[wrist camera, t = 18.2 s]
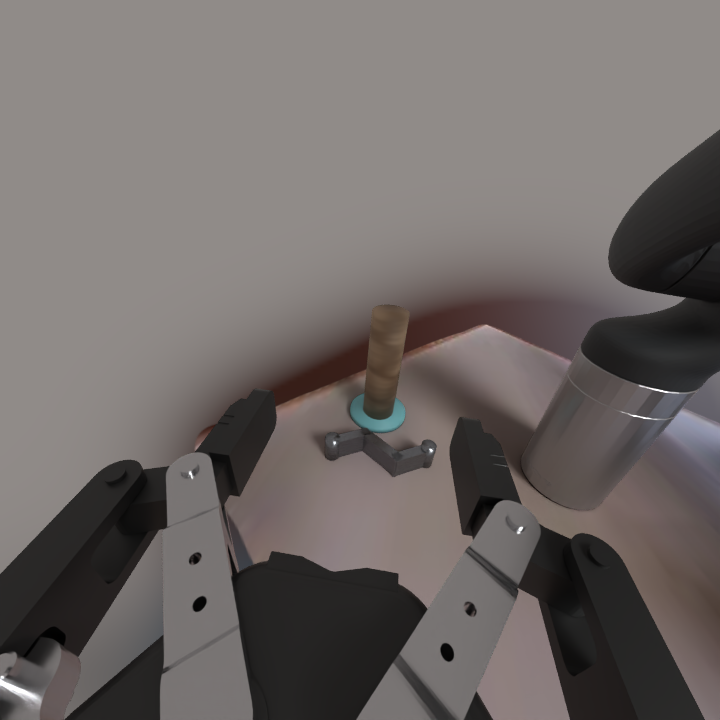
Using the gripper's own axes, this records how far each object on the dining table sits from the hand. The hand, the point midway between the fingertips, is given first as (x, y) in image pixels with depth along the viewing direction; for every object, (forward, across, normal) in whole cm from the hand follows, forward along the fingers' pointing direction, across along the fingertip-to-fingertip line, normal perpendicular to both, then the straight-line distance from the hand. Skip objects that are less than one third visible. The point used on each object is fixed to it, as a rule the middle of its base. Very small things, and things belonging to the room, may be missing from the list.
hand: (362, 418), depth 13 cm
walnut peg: (+25, -1, +21) cm, 33 cm away
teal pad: (+25, -1, +22) cm, 33 cm away
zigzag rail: (+16, -2, +22) cm, 27 cm away
